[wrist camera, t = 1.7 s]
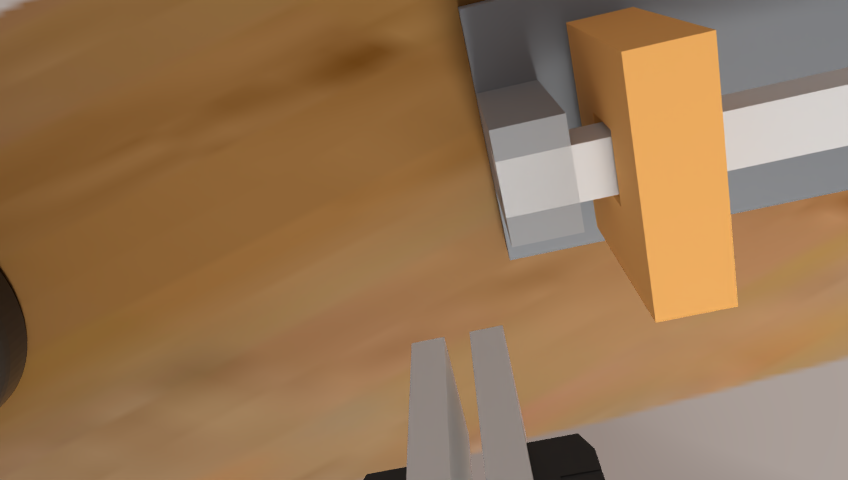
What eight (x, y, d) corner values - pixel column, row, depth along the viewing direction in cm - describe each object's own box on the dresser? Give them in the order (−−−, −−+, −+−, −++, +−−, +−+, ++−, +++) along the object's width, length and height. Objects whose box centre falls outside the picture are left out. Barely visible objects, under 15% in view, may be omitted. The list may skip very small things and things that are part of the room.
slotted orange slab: (597, 226, 36) (655, 322, 27) (565, 22, 32) (621, 51, 23) (657, 213, 36) (738, 306, 27) (633, 6, 32) (716, 29, 23)
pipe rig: (507, 249, 40) (529, 332, 31) (457, 7, 35) (467, 25, 26) (1043, 137, 37) (1228, 193, 29) (1067, -140, 33) (1297, -172, 24)
